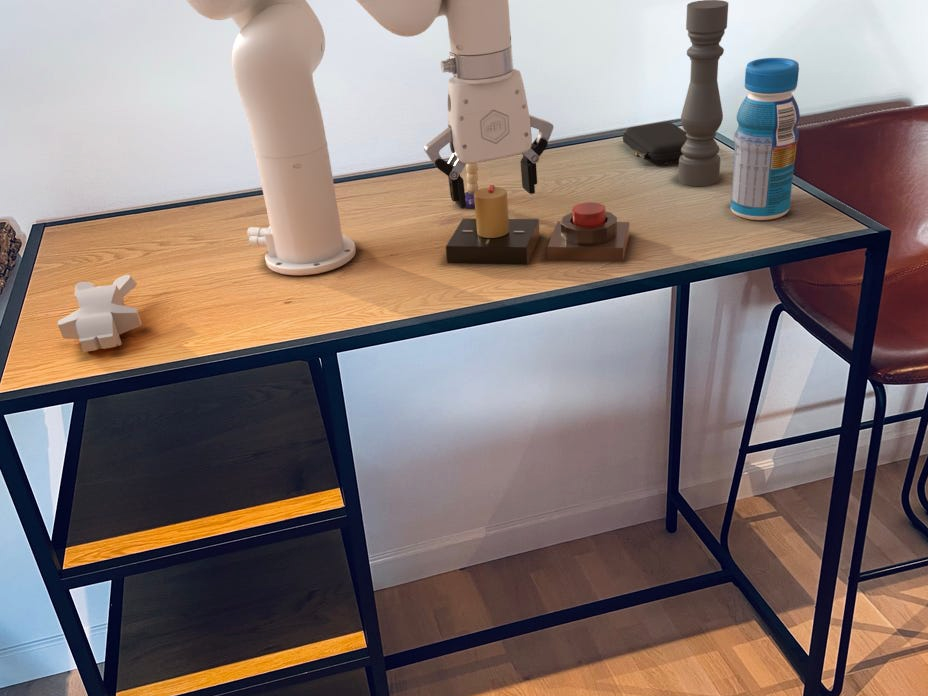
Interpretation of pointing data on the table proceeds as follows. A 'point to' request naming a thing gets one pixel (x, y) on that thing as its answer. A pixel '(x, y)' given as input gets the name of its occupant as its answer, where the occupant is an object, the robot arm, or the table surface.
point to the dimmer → (493, 244)
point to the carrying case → (656, 142)
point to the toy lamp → (471, 184)
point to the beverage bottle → (766, 140)
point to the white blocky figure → (101, 315)
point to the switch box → (589, 241)
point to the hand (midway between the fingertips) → (494, 197)
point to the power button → (588, 214)
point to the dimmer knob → (491, 212)
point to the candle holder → (703, 93)
